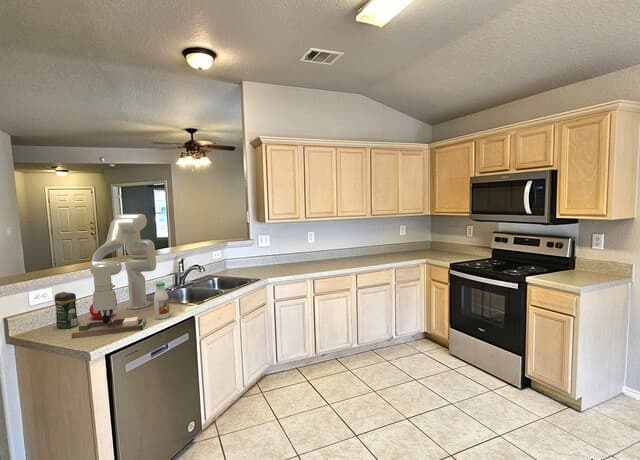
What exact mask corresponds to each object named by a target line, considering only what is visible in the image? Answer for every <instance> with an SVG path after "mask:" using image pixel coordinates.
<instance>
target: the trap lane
mask: <svg viewBox="0 0 640 460" xmlns="http://www.w3.org/2000/svg"><path fill="white" fill-rule="evenodd" d="M124 320H125V318H120V319H113V320H112V319H110V321H109V322H108V323H105V324H104V322H103V320H101V321H93V322H88V323H87V324H85V325H79V326H78V331H76V332H71V339H80V338H88V337H96V336H103V335H110V334H111V335H112V333H113V334H119V333H127V332H136V331H142V330H143V329H144V327H145V325H146V324H147V322H146V318H138V322H139V325H134V326H126V327H123V326H119V327H116V325H123V321H124ZM99 327H107V328H104V329H94V330H89V329H91V328H99Z"/></svg>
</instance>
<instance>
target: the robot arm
mask: <svg viewBox="0 0 640 460" xmlns="http://www.w3.org/2000/svg"><path fill="white" fill-rule="evenodd" d="M147 223H148V220H147V217H146V215H145V214H143V213H123V214H122V213H121V214H117V215H115V216H114V219H113V220H111V221H110V225H109V230H108V232H107V235H106V236H107V237H106V240H105V242H104V243H103V244H102V245H100V246H99V248H97V250H96V251H95V252H94V253H93V254H92V257H91V261H90V266H89V271H90V273H91V275H93V287H94V291H93V293H92V304H93V310H94V311H93V313H99V314H100V315H101V316H102V321H103V322H104V324H105V323H108V322H109V321H110V320H111V315H110V313H111V312H113V313H114V312H116V311H118V300H117V295H116V291H115V288H116V284H113V283H112V282H113V281H112V276H115V275H118V274H120V273H121V272H122V269H123V265H122V263H121V261H119V260H103V259H104V258H105V256H107V255H109V254H110V253H113V252H115V251H117V250H119V249H120V250H121V248H123V247H124V245H125V250H126V253H127V254H128V255H130V256H131V257H128V258H127V259H126V260H125V262H124V265H125V270H126V273H127V274H126V275H127V282H128V298H129V300H128V301H129V304H127V305H126V308H127V309H128V310H139V309H144V308H147V307H148V306H150V302H149V301H148V300H147V287H146V277H145V275H144V274H143V273H144V272H145V273H146V272H147V273H148V272H154V271H155V270H156V268H157V257H156V256H157V255H156V250H155V249H156V248H155V243H154V242H153V241H152V240H151V239H141V232H140V231H142V230H143V229H144V228H145V227H146V226H147ZM132 256H133V257H132ZM105 310H107V314H105Z"/></svg>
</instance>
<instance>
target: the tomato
mask: <svg viewBox="0 0 640 460" xmlns="http://www.w3.org/2000/svg"><path fill="white" fill-rule="evenodd" d="M88 310H89V311H88V312H89V314H90V316H91V317H93V318H94V319H100V320H101V319H102V320H103V318H102V316H101V315H100V314H99V313H93V311H94V310H93V303H91V305H90V306H89V309H88ZM113 313H114V311H113V312H111V313H110V316H112V314H113ZM105 314H107V310H105Z"/></svg>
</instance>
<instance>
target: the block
mask: <svg viewBox="0 0 640 460" xmlns="http://www.w3.org/2000/svg"><path fill="white" fill-rule="evenodd" d="M124 319H125V320H124V321H123V324H122V327H126V326H134V325H140V324H139V322H138V319H139V317H138V316H134V317H126V318H124Z"/></svg>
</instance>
